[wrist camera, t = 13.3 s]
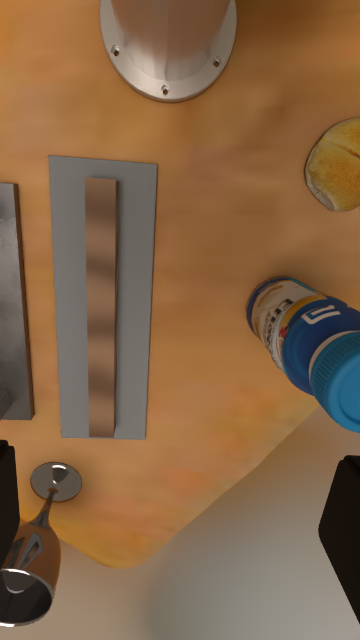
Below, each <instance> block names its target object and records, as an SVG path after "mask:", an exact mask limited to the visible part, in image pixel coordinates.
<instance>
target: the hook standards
mask: <svg viewBox="0 0 360 640" xmlns="http://www.w3.org/2000/svg"><path fill="white" fill-rule="evenodd" d="M34 415H35V414H34V401H33V387H32V373H31V360H30V346H29V332H28V319H27V305H26V291H25V278H24V264H23V250H22V237H21V223H20V209H19V196H18V185H17V184H8V183H0V420H1V419H6V420H32V418H33V416H34Z"/></svg>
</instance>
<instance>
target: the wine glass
mask: <svg viewBox="0 0 360 640" xmlns="http://www.w3.org/2000/svg"><path fill="white" fill-rule="evenodd" d="M30 484H31V488H32V490H33V491H34V493H35V494H36V495H37V496H38V497H40V498H41V499H43V500H46V502H45V504H44V506H43V507H42V509H41V511H40V513H39V514H38V515H37V516H36V517H35V518H34V519H32V520H31V521H28V522H26V523H23V524H20V525H19V528H18V531H17V534H16V536H15V539H14V541H13V543H12V545H11V548H10V550H9V552H8V555H7V557H6V559H5V561H4V564H3V566H2V568H1V571H0V625H3V626H23V625H28V624H31V623H34V622H36V621H38V620H40V619H41V618H43V617H44V616H45V615H46V614H47V612H48V611H49V610H50V607H51V604H52V601H53V598H54V595H55V591H56V587H57V583H58V578H59V571H60V563H61V546H60V542H59V539H58V537H57V535H56V533H55V532H54V530H53V529H52V527H51V526H50V524H49V512H50V508H51V504H52V502H53V503H62V502H66V501H69V500H71V499H73V498H74V497H76V496H77V495H78V493H79V492H80V490H81V487H82V480H81V477H80V475H79V473H78V472H77V471H76V470H75V469H74V468H72V467H71V466H69V465H67V464H64V463H60V462H50V463H45V464H42V465H41V466H39V467H37V468H36V469H35V470H34V471H33V473H32V475H31V478H30Z"/></svg>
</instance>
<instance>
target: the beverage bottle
mask: <svg viewBox="0 0 360 640" xmlns="http://www.w3.org/2000/svg"><path fill="white" fill-rule="evenodd" d="M246 315H247V321H248V324H249V326H250V328H251V330H252V331H253V332H254V334H255V335H256V336H257V337H258V338H260V340H261V341H262V343H263V344H264V345H265V347H266V348H267V349H268V351H269V352H270V354H271V356H272V359H273V361H274V362H275V364H276V365H277V367H278V368H279V369H280V370H281V371H282V372H283V373H284V374H285V375H286V376H287V378H288V379H289V380H290V381H291V383H292V384H294V385H295V386H296V387H297V388H299V389H300V390H302V391H304V392H305V393H308V394H310V395H312V396H315V398H316V399H317V401H318V402H319V403H320V405H321V406H322V407H323V408H324V410H325V411H326V412H327V413H328V414H329V416H330V417H331V418H332V419H333V420H335V422H336V423H338V424H339V425H341V426H342V427H344V428H346V429H348V430H350V431H353V432H357V433H360V312H359V311H357V310H355V309H353V308H351V307H350V306H348V305H347V304H346V303H344V302H343V301H341V300H339V299H337V298H334V297H331V296H327V295H325V294H323V293H321V292H319V291H317V290H315V289H313V288H311V287H309V286H307V285H305V284H303V283H302V282H300V281H298V280H296V279H293V278H288V277H278V278H273V279H270V280H268V281H266V282H264V283H263V284H261V285H260V286H259V287H258V288H257V289H256V290H255V291H254V292H253V294H252V295H251V297H250V299H249V301H248V304H247V310H246Z"/></svg>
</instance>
